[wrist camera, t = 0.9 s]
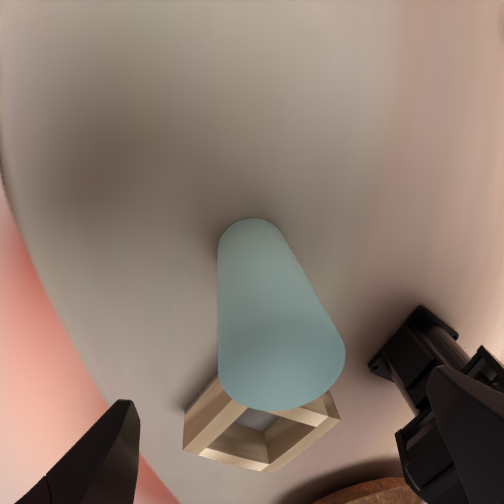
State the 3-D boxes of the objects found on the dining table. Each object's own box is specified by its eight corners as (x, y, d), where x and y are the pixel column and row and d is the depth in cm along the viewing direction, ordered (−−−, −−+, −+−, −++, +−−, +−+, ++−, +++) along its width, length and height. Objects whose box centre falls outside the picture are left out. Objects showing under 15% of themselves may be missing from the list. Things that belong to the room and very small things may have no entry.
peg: (299, 241, 19) (369, 346, 10) (261, 293, 20) (293, 422, 11) (242, 204, 18) (268, 292, 8) (204, 262, 19) (194, 386, 9)
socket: (326, 382, 23) (341, 420, 20) (266, 438, 25) (272, 473, 22) (239, 345, 21) (243, 386, 17) (185, 410, 23) (182, 449, 19)
